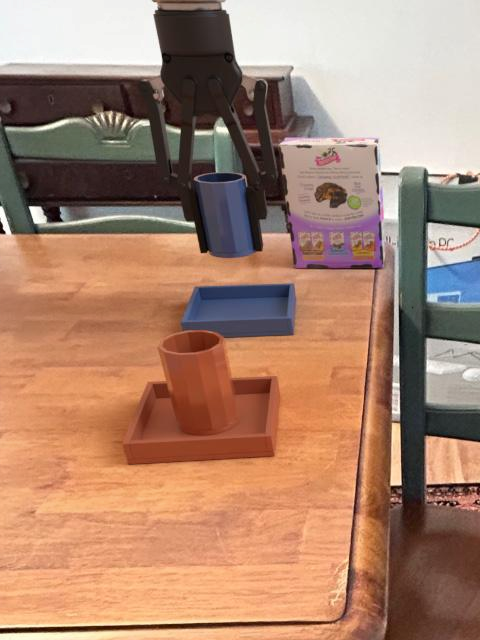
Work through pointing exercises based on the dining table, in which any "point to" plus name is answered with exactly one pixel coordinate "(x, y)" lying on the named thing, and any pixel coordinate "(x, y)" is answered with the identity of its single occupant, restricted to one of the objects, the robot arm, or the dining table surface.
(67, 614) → the dining table surface
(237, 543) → the dining table surface
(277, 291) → the blue tray
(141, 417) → the terracotta tray
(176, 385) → the terracotta cup
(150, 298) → the dining table surface
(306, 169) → the candy box
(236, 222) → the blue cup
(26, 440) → the dining table surface
